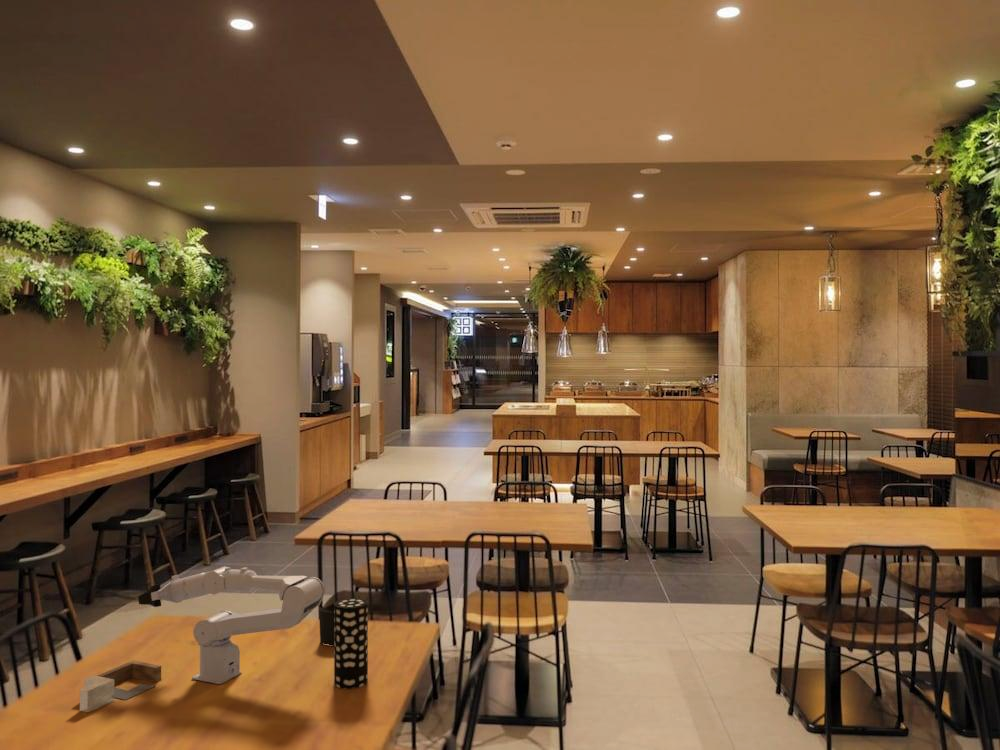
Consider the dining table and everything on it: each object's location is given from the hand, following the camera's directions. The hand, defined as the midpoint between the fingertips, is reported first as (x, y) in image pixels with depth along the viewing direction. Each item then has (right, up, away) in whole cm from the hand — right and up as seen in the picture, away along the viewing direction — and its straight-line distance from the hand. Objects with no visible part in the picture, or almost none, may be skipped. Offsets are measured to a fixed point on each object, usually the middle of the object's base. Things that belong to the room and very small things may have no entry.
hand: (150, 597), depth 191 cm
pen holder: (+45, -19, +19) cm, 53 cm away
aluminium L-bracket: (-3, -18, -23) cm, 29 cm away
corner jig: (0, -18, -12) cm, 22 cm away
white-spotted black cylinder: (+56, -19, -10) cm, 60 cm away
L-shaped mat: (+2, -18, -15) cm, 24 cm away
